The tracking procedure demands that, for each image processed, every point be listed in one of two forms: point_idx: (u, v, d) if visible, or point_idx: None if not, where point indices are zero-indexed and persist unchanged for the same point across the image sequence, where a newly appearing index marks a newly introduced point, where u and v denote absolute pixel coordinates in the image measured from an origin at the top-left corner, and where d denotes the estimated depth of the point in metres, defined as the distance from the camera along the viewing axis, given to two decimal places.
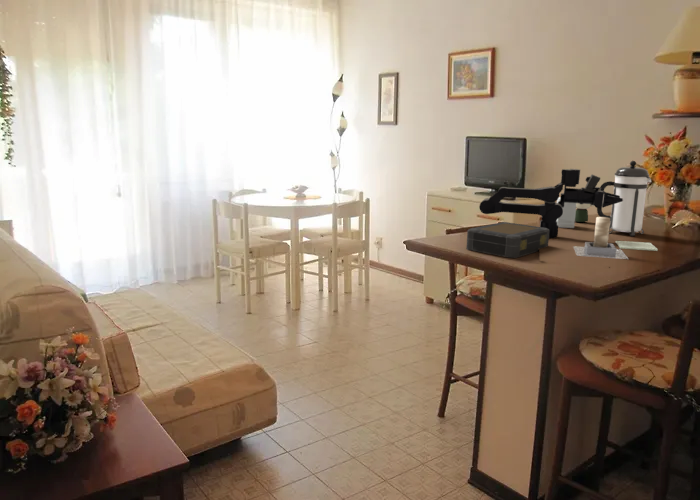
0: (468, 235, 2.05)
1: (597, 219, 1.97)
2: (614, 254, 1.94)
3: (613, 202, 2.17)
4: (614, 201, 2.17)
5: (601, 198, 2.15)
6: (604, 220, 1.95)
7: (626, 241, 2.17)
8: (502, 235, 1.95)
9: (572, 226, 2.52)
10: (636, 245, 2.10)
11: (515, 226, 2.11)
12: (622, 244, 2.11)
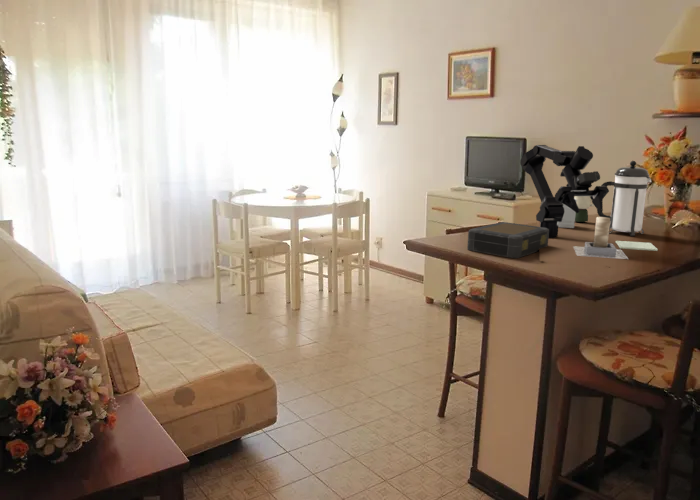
0: (469, 235, 2.04)
1: (597, 219, 1.97)
2: (614, 254, 1.94)
3: (571, 207, 2.06)
4: (572, 207, 2.06)
5: (559, 194, 2.06)
6: (604, 220, 1.95)
7: (626, 241, 2.17)
8: (504, 235, 1.95)
9: (572, 226, 2.52)
10: (636, 245, 2.10)
11: (515, 226, 2.11)
12: (622, 244, 2.11)
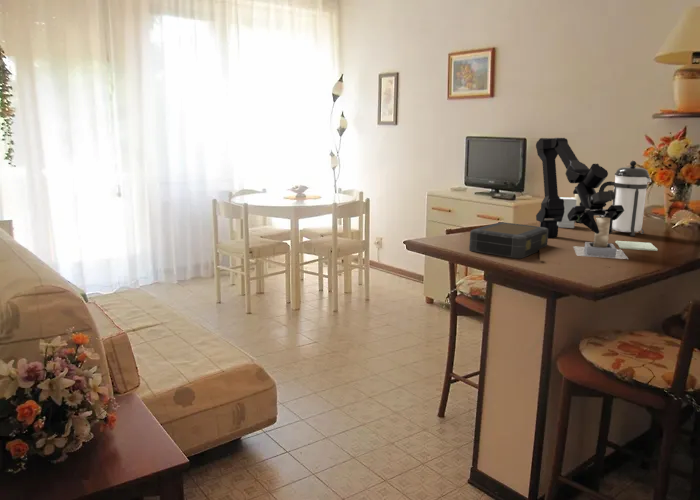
0: (471, 236, 2.03)
1: (597, 219, 1.97)
2: (614, 254, 1.94)
3: (590, 227, 1.99)
4: (591, 228, 1.98)
5: (572, 213, 1.99)
6: (604, 220, 1.95)
7: (626, 241, 2.17)
8: (508, 236, 1.94)
9: (572, 226, 2.52)
10: (636, 245, 2.10)
11: (514, 226, 2.11)
12: (622, 244, 2.11)
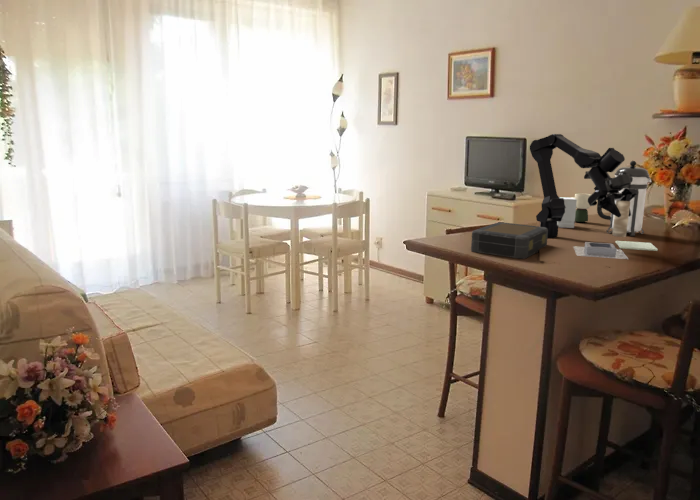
0: (473, 237, 2.02)
1: (618, 203, 1.98)
2: (614, 254, 1.94)
3: (611, 211, 1.99)
4: (612, 211, 1.99)
5: (595, 198, 1.98)
6: (626, 203, 1.97)
7: (626, 241, 2.17)
8: (511, 236, 1.94)
9: (572, 226, 2.52)
10: (636, 245, 2.10)
11: (514, 226, 2.11)
12: (622, 244, 2.11)
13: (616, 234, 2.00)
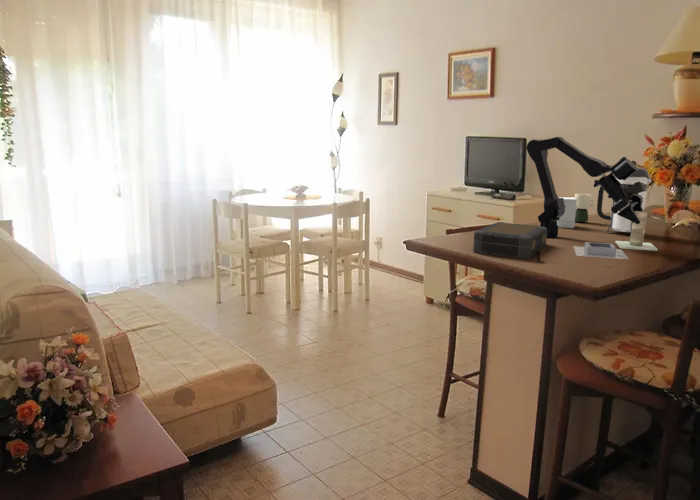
0: (475, 238, 2.00)
1: (639, 214, 2.06)
2: (614, 254, 1.94)
3: (629, 218, 2.06)
4: (631, 219, 2.05)
5: (621, 206, 2.03)
6: (646, 214, 2.06)
7: (626, 241, 2.17)
8: (514, 236, 1.93)
9: (572, 226, 2.52)
10: None
11: (514, 226, 2.11)
12: (622, 244, 2.11)
13: (636, 243, 2.09)
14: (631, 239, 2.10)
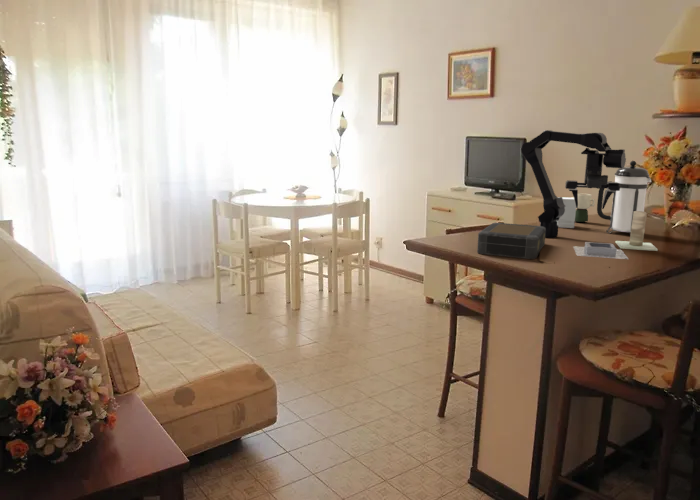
0: (480, 239, 1.98)
1: (638, 213, 2.07)
2: (614, 254, 1.94)
3: (574, 198, 2.22)
4: None
5: (565, 186, 2.20)
6: (645, 214, 2.06)
7: (626, 241, 2.17)
8: (521, 237, 1.93)
9: (572, 226, 2.52)
10: None
11: (513, 226, 2.11)
12: (622, 244, 2.11)
13: (636, 243, 2.09)
14: (631, 239, 2.10)
